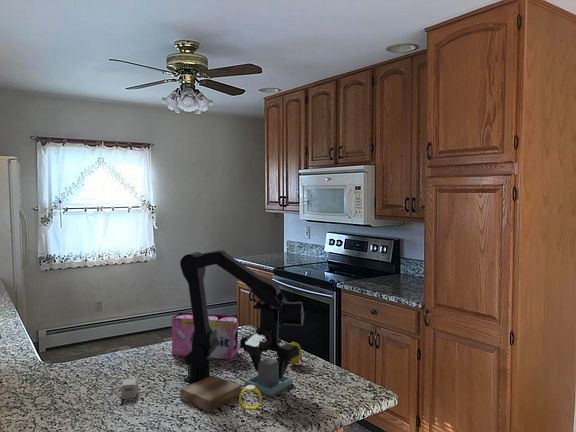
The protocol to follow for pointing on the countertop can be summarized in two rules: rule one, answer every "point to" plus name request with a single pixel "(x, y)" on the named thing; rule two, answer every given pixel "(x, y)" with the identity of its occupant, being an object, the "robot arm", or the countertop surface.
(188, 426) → the countertop surface
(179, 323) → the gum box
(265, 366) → the plug block
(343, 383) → the countertop surface
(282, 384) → the teal tray
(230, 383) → the walnut dock
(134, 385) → the usb wall charger
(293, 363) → the lemon
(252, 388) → the watch
